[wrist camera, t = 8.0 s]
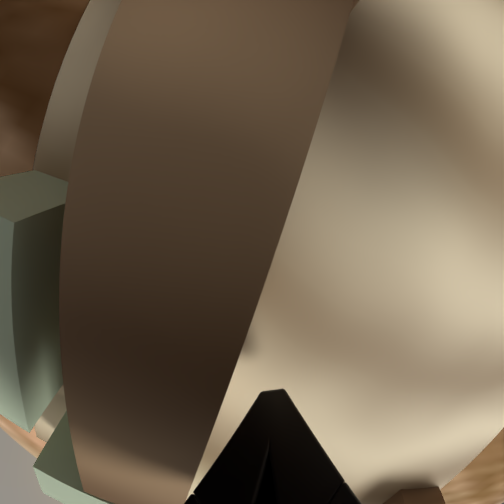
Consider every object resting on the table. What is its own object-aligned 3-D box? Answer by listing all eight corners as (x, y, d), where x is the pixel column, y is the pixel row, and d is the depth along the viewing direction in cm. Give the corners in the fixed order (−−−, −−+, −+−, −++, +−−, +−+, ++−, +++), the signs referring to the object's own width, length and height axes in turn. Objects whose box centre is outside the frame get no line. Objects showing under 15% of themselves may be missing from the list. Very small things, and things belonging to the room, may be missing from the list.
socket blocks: (35, 170, 7) (-52, 189, 4) (277, 257, 8) (288, 329, 5) (35, 421, 10) (3, 468, 7) (176, 482, 11) (163, 541, 8)
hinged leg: (219, -88, 4) (200, -175, 1) (371, -53, 5) (421, -131, 1) (99, 424, 9) (63, 498, 6) (204, 457, 10) (190, 541, 6)
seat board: (184, -104, 5) (156, -176, 1) (609, 153, 7) (666, 167, 3) (46, 421, 12) (11, 478, 8) (402, 501, 14) (416, 551, 10)
